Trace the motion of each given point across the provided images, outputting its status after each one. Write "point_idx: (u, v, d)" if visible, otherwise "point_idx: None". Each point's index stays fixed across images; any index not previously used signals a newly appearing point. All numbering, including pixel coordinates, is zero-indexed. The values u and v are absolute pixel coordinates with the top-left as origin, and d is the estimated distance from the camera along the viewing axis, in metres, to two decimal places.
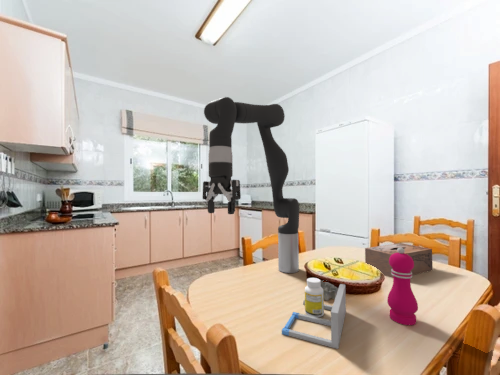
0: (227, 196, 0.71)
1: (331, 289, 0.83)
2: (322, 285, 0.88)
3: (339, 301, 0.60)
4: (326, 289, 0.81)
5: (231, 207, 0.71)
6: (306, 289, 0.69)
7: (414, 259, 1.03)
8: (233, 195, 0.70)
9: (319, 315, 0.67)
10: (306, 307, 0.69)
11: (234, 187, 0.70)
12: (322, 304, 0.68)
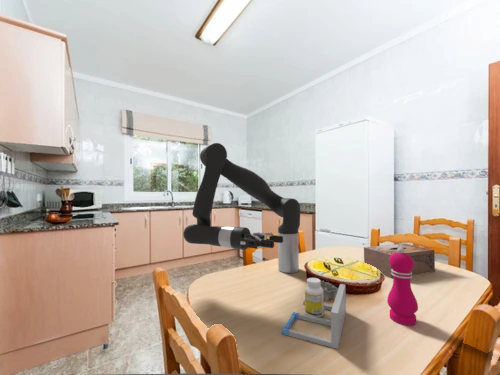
0: None
1: (331, 289, 0.83)
2: (322, 285, 0.88)
3: (339, 301, 0.60)
4: (326, 289, 0.81)
5: None
6: (306, 289, 0.69)
7: (413, 259, 1.02)
8: None
9: (319, 315, 0.67)
10: (306, 307, 0.69)
11: (246, 246, 0.73)
12: (322, 304, 0.68)
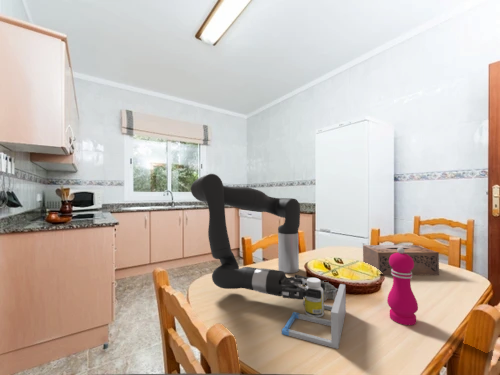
0: None
1: (330, 289, 0.82)
2: None
3: (339, 301, 0.60)
4: None
5: (313, 296, 0.67)
6: None
7: None
8: None
9: (319, 315, 0.67)
10: (306, 307, 0.69)
11: None
12: (322, 304, 0.68)
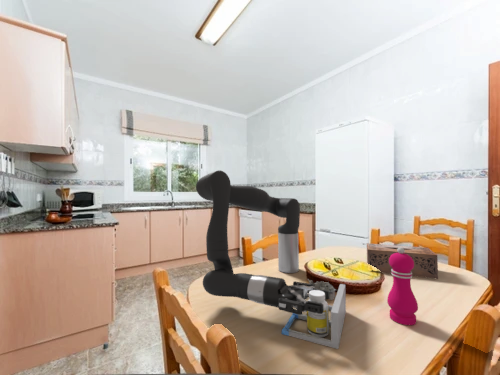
0: None
1: (329, 290, 0.82)
2: (323, 286, 0.88)
3: (339, 301, 0.60)
4: (323, 289, 0.81)
5: None
6: None
7: None
8: None
9: (324, 334, 0.58)
10: (308, 324, 0.60)
11: None
12: (327, 321, 0.59)
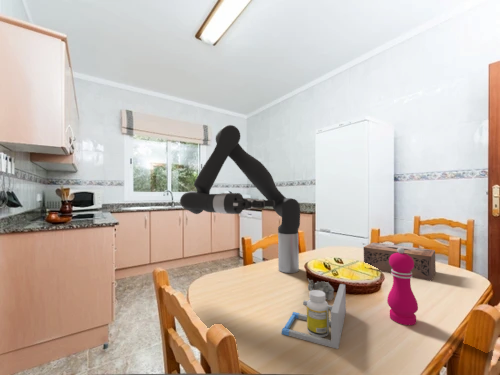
0: (249, 207, 0.78)
1: (328, 290, 0.82)
2: (324, 286, 0.88)
3: (339, 301, 0.60)
4: (322, 289, 0.81)
5: None
6: (309, 304, 0.60)
7: None
8: (245, 208, 0.76)
9: (324, 334, 0.58)
10: (309, 325, 0.60)
11: (238, 207, 0.77)
12: (327, 321, 0.59)
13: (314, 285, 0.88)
